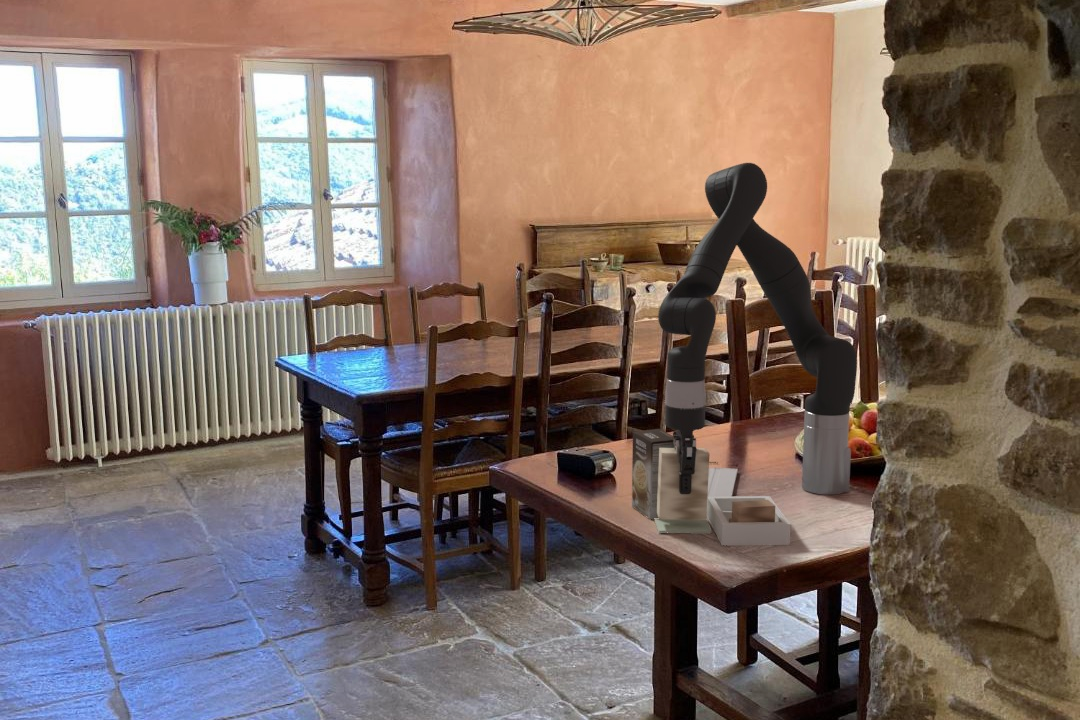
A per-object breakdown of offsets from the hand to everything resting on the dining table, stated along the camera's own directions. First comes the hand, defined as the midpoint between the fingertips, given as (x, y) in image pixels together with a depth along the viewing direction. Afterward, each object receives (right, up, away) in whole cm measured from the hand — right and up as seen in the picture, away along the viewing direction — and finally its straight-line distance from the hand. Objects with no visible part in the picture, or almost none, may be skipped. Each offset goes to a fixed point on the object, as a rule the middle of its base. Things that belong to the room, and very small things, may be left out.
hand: (683, 489), depth 199 cm
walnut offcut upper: (+12, -5, -5) cm, 14 cm away
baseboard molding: (+8, -4, +25) cm, 27 cm away
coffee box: (-4, -6, +11) cm, 13 cm away
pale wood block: (0, -5, +1) cm, 5 cm away
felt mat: (0, -7, +2) cm, 8 cm away
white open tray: (+12, -8, 0) cm, 14 cm away
